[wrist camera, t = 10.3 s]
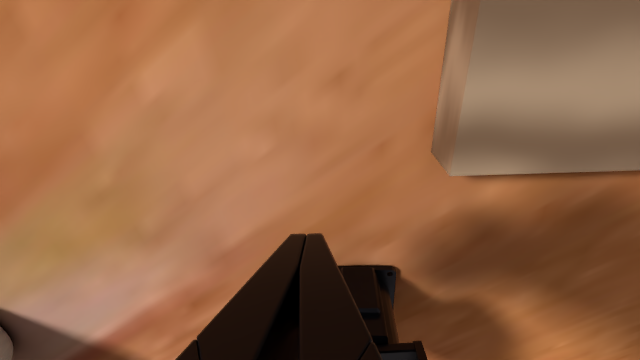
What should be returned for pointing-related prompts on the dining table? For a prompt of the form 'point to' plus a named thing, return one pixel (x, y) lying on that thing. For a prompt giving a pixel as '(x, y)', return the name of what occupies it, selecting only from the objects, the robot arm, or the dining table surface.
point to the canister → (5, 346)
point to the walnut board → (539, 87)
